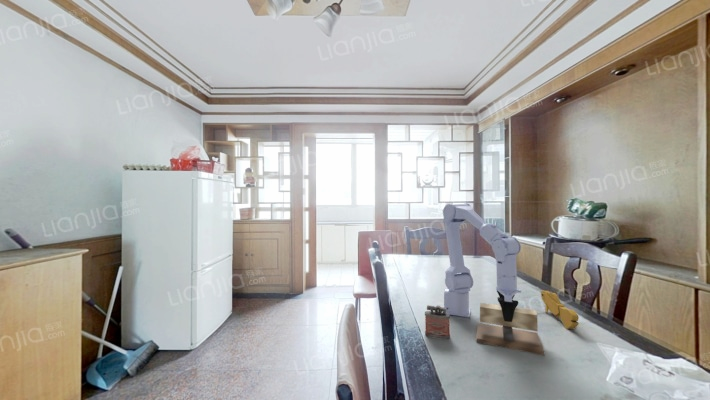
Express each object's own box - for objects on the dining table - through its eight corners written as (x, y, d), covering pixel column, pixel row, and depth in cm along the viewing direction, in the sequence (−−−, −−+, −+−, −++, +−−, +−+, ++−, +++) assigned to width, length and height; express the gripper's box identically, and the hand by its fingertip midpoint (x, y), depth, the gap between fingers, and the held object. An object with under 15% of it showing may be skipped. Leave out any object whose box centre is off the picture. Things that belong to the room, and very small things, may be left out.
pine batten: (480, 321, 90) (479, 306, 90) (480, 317, 94) (480, 302, 94) (537, 331, 83) (537, 315, 83) (535, 325, 87) (535, 310, 87)
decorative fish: (538, 303, 115) (540, 282, 112) (546, 304, 114) (549, 282, 112) (567, 341, 94) (570, 316, 91) (577, 342, 93) (581, 317, 91)
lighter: (450, 335, 92) (449, 305, 92) (450, 340, 89) (449, 309, 89) (425, 331, 95) (425, 303, 95) (424, 336, 91) (424, 306, 91)
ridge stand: (476, 342, 87) (476, 326, 87) (477, 326, 98) (477, 312, 98) (544, 355, 79) (543, 338, 79) (537, 336, 90) (537, 321, 90)
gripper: (523, 282, 80) (524, 328, 80) (518, 270, 94) (519, 310, 94) (496, 279, 84) (497, 324, 84) (495, 268, 97) (495, 306, 97)
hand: (507, 316), depth 89 cm, fingers open, 7 cm apart
